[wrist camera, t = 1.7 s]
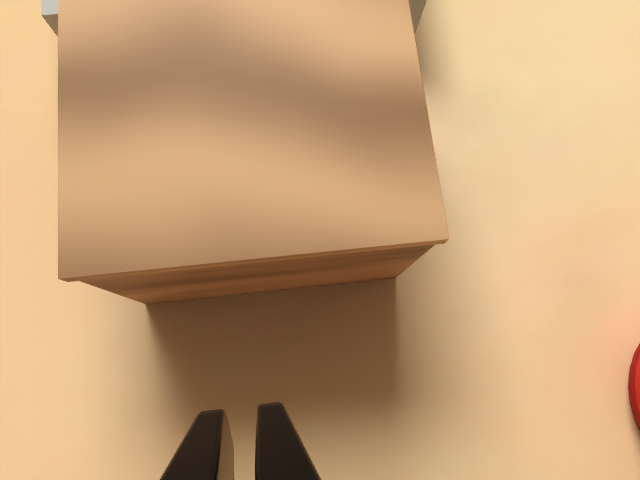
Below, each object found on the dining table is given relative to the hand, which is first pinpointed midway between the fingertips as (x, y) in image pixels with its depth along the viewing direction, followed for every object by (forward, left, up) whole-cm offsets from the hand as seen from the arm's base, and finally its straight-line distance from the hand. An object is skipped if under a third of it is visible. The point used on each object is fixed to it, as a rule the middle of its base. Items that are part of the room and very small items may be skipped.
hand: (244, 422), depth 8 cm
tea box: (+6, -7, -14) cm, 16 cm away
